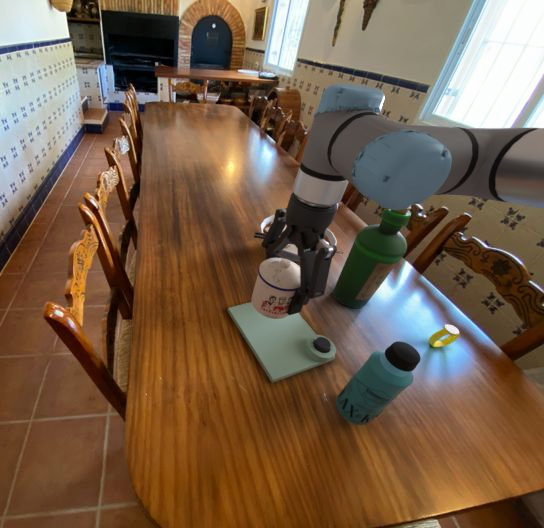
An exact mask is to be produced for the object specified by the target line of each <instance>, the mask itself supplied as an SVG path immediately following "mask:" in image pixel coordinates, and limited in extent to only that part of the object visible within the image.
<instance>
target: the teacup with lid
mask: <svg viewBox="0 0 544 528" xmlns="http://www.w3.org/2000/svg"><path fill="white" fill-rule="evenodd" d="M298 288H300V265H298V264H297V263H295V261H292V260H289V259H286V258H283V257H280V258H270V259H267V260H265V259H264V260H263V261H262V262H261V263H260V264H259V266H258V267H257V276H256V280H255V284H254V287H253V290H252V294H251V298H250V299H251V301H250V302H252V305H253V307H254V308H255V309H256V310H257V311H258V312H259V313H260V314H262V315H263V316H265V317H268V318H272V319H282V318H285V317H287V316H288V313H287V311H288V309H289V306H290V304H291V301H292V299H293V296H294V294H295V291H296V289H298Z"/></svg>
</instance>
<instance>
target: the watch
mask: <svg viewBox="0 0 544 528" xmlns="http://www.w3.org/2000/svg"><path fill="white" fill-rule="evenodd" d="M460 333H461V332H460V330H459V328H458V327H456V326H455V325H452V324H447V323H446V324H444V325H443V327H442V329H439V330H438V331H436V332H434V333H433V334H432V335H431V336H429V338H428V343H429V344H430V345H431V346H432V347H433V348H434V349H435V348H440V347H446V346H448V345H451V344H453V343H454V342H455V341H457V340H458V339H459V337H460V335H461V334H460ZM447 335H449V336H447ZM445 336H447V337H446V338H443V337H445ZM442 338H443V339H442ZM440 339H441V340H440Z"/></svg>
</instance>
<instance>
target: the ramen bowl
mask: <svg viewBox="0 0 544 528" xmlns="http://www.w3.org/2000/svg"><path fill="white" fill-rule="evenodd" d="M274 217H275V214H272V215H270V216H268V217H265V218H264V219H263V221H262V222H261V224H260V226H259V227H260V230H261V231H257V230H256V231H255V232H254V235H253V238H255V239H261V240H264V238H265V236H266V234H267V232H268V230H269V228H270V226H271V224H272V222H273V220H274ZM286 227H287V226H285V227H284V229H283V231H284V230H285V229H286ZM283 231H282V232H283ZM279 237H280V236H279ZM324 240H325V241H326V242H327V243H328V244H329V245H330V246H332V245H335V246H336V247H337V243H338V240H337V238H336V236H335V234H334V233H333V232H332V230H330V229H329V227H328V228H327V229H326V230H325V239H324ZM310 249H311V248H310ZM310 249H306V250H305V251H308V250H310ZM335 254H342V255H344V252H343V251H339V250H337V251H336V253H335ZM277 255H279V256H280V258H283V259H288V260H290V261H292V262H300V257H299V256H298V248H296V246H295V245H294V244H293V243H291V242H290V243H289V244H288V245H287V246H286V247H285V248H284V249H282V250H281V253H278V254H277Z"/></svg>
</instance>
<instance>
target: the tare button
mask: <svg viewBox="0 0 544 528" xmlns="http://www.w3.org/2000/svg"><path fill="white" fill-rule="evenodd" d="M324 337H325V336H324ZM324 337H318V338H317V339H316V341H315V343H314V347H315V349H316V350H317V351H319V352H321V353H326V352H327V351H328V350H329V348H330V347H331V343H330V342H329V340H328V339H329V338H328V339H326V338H327V337H326V338H324Z"/></svg>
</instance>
